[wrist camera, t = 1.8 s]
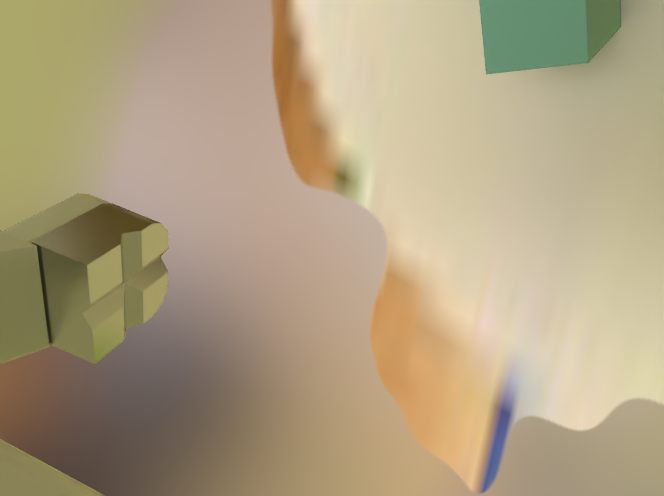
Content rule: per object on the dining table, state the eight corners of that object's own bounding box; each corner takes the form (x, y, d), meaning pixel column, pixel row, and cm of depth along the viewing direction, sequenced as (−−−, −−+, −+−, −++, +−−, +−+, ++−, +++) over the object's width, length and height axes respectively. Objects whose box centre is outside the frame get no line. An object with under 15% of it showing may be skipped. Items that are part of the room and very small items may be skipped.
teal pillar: (619, -58, 35) (584, -50, 26) (620, 26, 37) (587, 62, 28) (536, -42, 38) (476, -29, 28) (541, 37, 39) (486, 74, 30)
